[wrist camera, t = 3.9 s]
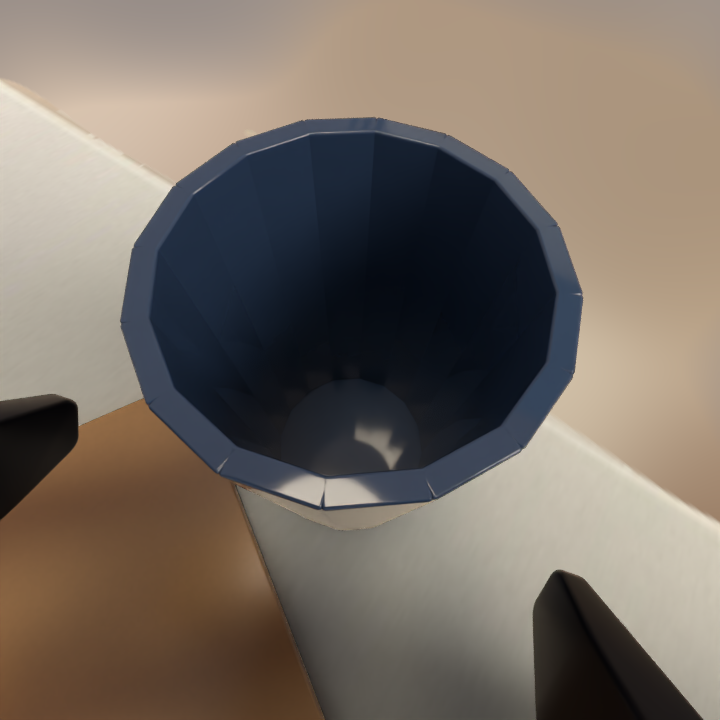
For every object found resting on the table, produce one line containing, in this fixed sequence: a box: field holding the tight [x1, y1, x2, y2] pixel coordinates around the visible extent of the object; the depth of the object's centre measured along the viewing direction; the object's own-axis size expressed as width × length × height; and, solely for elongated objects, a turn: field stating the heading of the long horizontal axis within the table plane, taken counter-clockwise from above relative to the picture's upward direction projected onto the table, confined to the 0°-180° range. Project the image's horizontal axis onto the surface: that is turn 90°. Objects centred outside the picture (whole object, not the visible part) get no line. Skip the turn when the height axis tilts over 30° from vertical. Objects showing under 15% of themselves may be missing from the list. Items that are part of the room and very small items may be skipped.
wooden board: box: [0, 398, 325, 720], centre depth 14 cm, size 20×14×1 cm
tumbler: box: [120, 117, 583, 531], centre depth 12 cm, size 7×7×13 cm
